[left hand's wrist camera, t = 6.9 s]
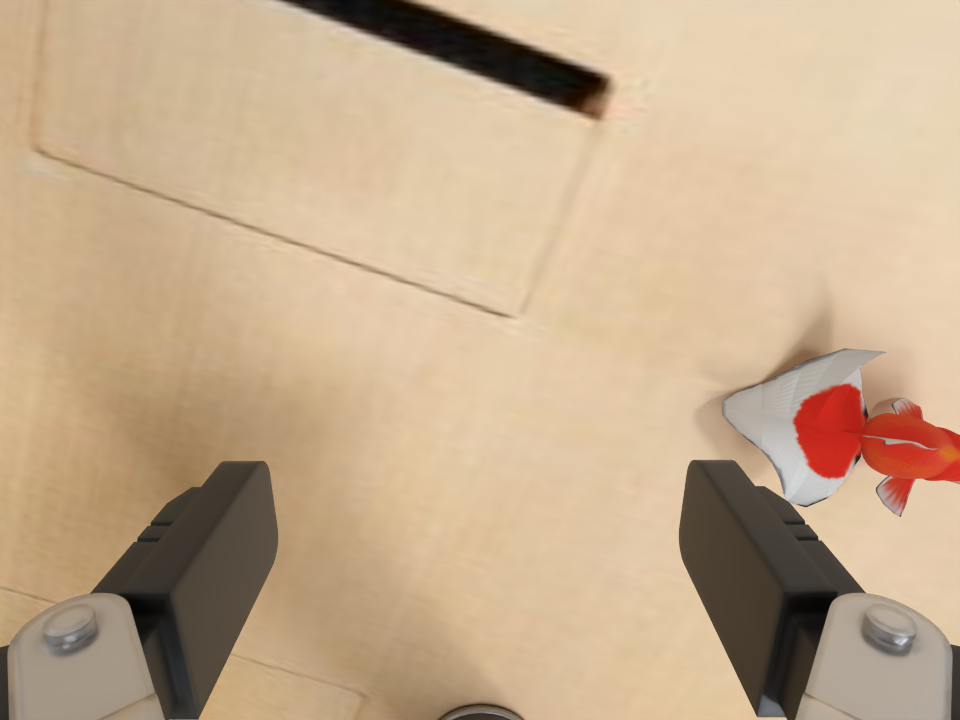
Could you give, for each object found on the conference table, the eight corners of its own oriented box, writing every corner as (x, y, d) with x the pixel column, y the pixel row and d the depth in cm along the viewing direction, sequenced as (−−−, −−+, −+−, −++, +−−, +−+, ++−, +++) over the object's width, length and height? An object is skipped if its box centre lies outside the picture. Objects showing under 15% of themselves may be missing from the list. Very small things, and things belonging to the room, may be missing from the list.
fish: (894, 567, 42) (974, 600, 32) (687, 450, 46) (704, 448, 37) (969, 434, 42) (1072, 428, 33) (756, 330, 47) (791, 297, 37)
